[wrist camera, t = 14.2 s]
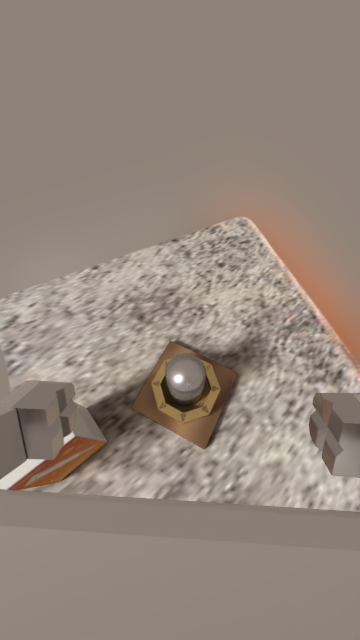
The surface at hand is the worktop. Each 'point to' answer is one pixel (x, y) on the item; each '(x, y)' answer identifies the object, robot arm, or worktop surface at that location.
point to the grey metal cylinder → (185, 379)
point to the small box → (59, 456)
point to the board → (197, 429)
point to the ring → (193, 414)
